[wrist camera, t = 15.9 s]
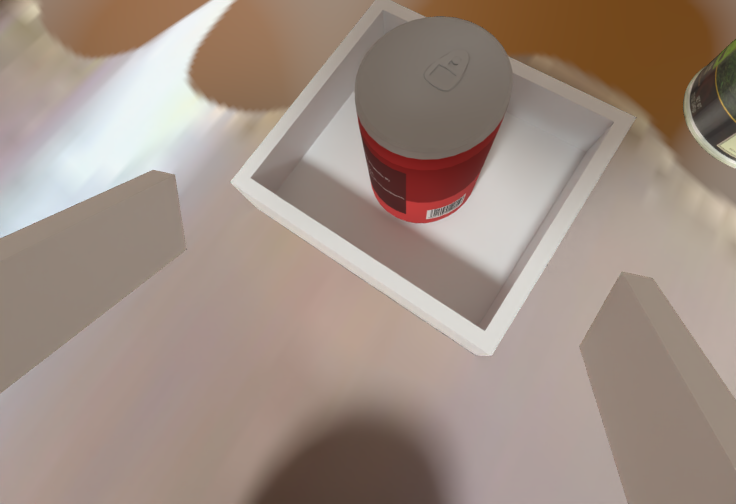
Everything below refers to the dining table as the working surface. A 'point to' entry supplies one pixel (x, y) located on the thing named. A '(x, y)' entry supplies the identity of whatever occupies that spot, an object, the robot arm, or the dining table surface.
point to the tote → (460, 229)
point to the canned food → (430, 113)
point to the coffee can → (714, 106)
